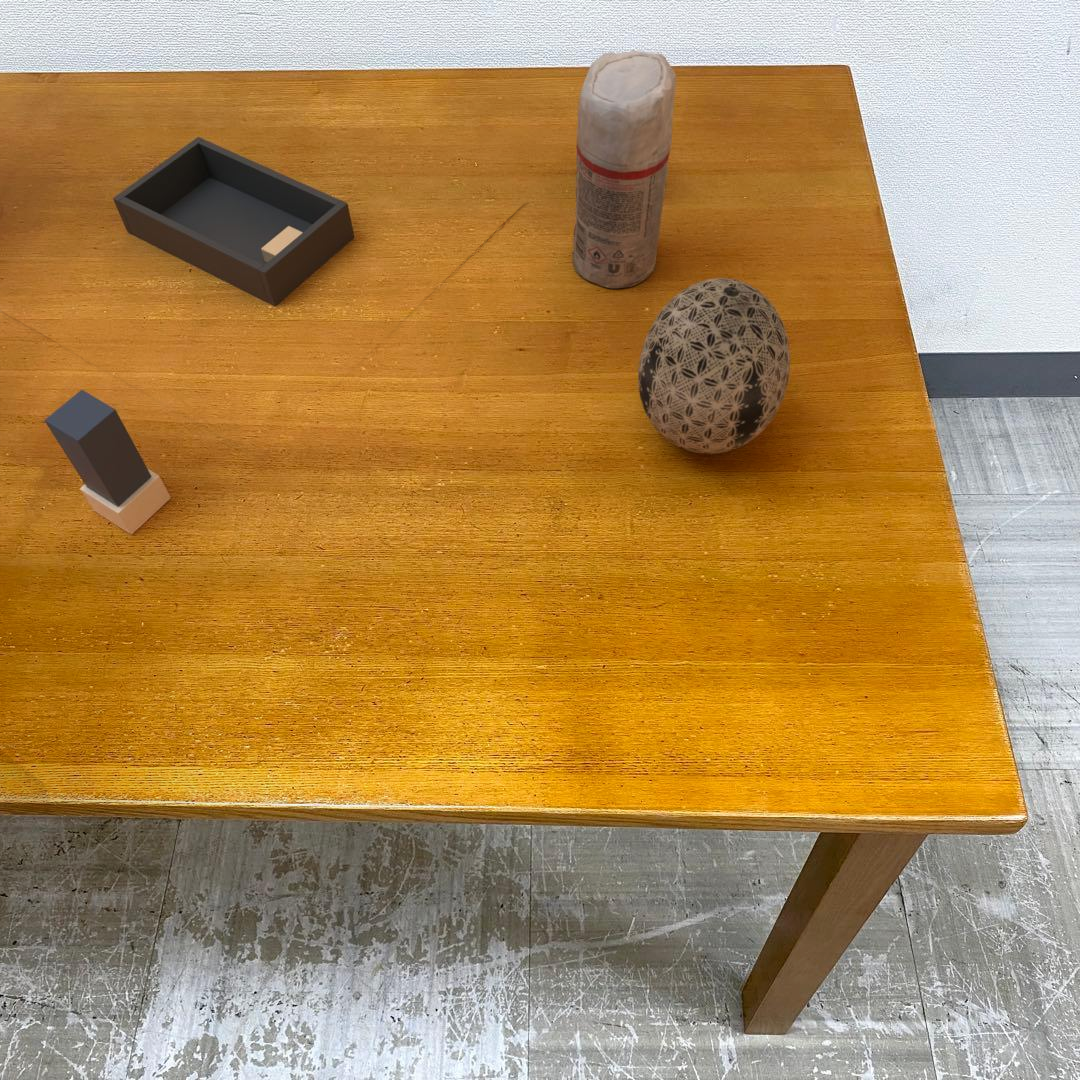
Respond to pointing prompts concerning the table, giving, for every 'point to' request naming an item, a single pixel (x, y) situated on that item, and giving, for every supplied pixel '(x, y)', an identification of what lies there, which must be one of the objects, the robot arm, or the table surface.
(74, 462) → the two-tone block stamp
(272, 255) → the beige square block
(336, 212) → the bin
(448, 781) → the table surface
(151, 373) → the table surface
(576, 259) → the spray can
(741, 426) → the decorative egg
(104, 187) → the table surface
